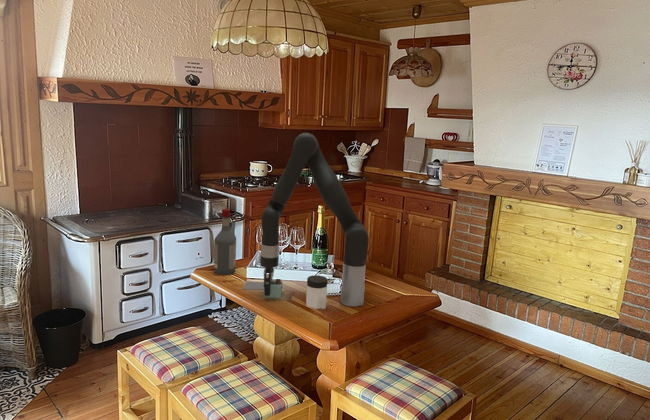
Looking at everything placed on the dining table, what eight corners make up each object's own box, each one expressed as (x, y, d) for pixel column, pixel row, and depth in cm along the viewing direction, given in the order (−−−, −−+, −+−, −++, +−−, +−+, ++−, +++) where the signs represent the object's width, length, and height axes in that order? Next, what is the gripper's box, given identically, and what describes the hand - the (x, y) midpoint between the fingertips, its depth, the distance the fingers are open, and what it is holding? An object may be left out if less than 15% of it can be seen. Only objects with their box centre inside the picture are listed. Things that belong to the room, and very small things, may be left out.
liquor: (236, 268, 236) (237, 208, 230) (232, 275, 227) (234, 212, 221) (217, 267, 236) (218, 207, 229) (213, 274, 227) (213, 211, 221)
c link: (263, 297, 202) (263, 285, 201) (264, 292, 208) (265, 279, 206) (280, 298, 202) (281, 286, 201) (281, 292, 208) (282, 280, 207)
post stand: (292, 294, 210) (293, 276, 208) (291, 302, 201) (292, 284, 199) (264, 292, 209) (264, 275, 208) (261, 301, 201) (262, 282, 199)
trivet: (266, 284, 219) (266, 282, 218) (264, 292, 210) (264, 289, 210) (246, 283, 218) (246, 281, 218) (243, 291, 210) (243, 288, 209)
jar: (311, 312, 193) (313, 283, 190) (301, 304, 200) (302, 277, 197) (330, 308, 198) (332, 280, 195) (319, 301, 205) (321, 273, 202)
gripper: (277, 260, 194) (275, 298, 198) (280, 249, 208) (278, 285, 212) (258, 259, 194) (257, 297, 197) (262, 248, 208) (260, 284, 211)
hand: (268, 291), depth 204 cm, fingers open, 8 cm apart
